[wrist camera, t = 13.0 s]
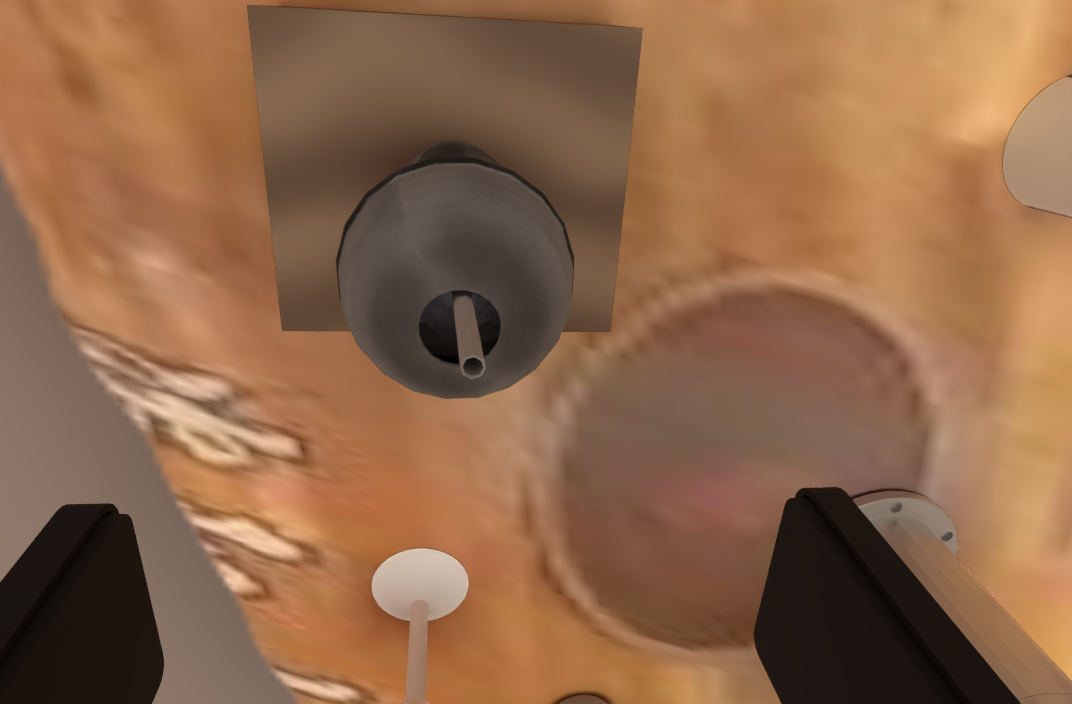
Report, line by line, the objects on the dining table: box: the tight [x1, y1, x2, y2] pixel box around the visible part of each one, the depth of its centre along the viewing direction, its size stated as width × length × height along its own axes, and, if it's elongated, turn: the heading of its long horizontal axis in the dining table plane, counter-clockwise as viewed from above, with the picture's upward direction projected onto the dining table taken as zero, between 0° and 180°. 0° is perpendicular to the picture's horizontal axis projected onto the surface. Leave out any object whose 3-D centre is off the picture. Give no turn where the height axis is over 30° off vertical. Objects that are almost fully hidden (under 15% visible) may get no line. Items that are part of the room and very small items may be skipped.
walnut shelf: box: [247, 5, 643, 332], centre depth 35 cm, size 14×16×6 cm
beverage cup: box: [336, 141, 574, 399], centre depth 23 cm, size 7×7×20 cm
